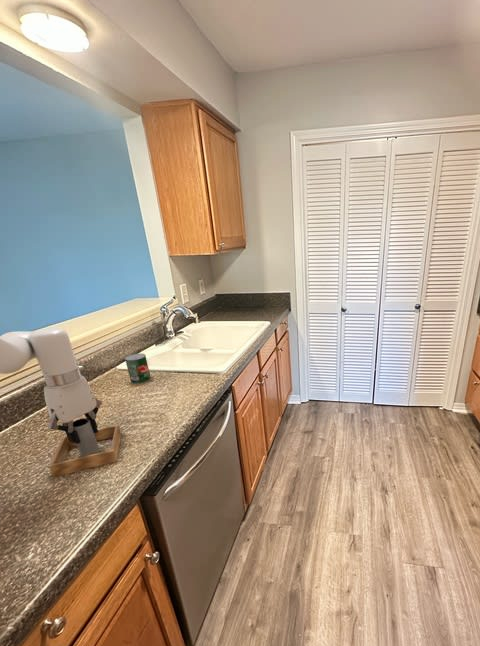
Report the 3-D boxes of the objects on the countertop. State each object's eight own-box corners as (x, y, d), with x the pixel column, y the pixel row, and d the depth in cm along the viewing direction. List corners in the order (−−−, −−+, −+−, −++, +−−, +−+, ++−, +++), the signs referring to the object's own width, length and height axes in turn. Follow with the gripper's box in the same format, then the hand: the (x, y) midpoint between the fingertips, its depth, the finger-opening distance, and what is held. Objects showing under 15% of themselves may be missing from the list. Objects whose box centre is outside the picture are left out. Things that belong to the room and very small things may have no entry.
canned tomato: (132, 378, 141) (126, 354, 137) (152, 375, 143) (146, 352, 139) (129, 385, 134) (123, 361, 130) (150, 382, 136) (144, 358, 132)
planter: (95, 457, 90) (84, 425, 86) (78, 459, 89) (66, 427, 85) (102, 447, 94) (92, 417, 90) (85, 449, 93) (74, 419, 89)
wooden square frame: (53, 477, 83) (48, 466, 81) (66, 446, 95) (62, 436, 94) (117, 461, 88) (113, 450, 87) (121, 433, 100) (118, 424, 99)
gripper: (84, 363, 91) (102, 419, 98) (17, 389, 77) (44, 452, 84) (103, 366, 88) (120, 423, 95) (37, 393, 74) (63, 458, 81)
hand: (84, 436), depth 89 cm, fingers closed on planter, 4 cm apart
